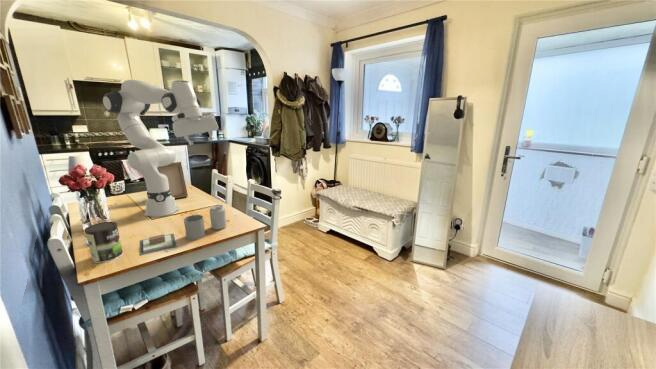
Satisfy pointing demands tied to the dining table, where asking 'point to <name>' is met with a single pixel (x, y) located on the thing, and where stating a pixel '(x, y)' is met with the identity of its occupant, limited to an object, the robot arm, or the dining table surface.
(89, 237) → the coffee can
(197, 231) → the cup
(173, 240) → the mat
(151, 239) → the lid
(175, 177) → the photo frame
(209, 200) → the dining table surface
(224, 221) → the can
